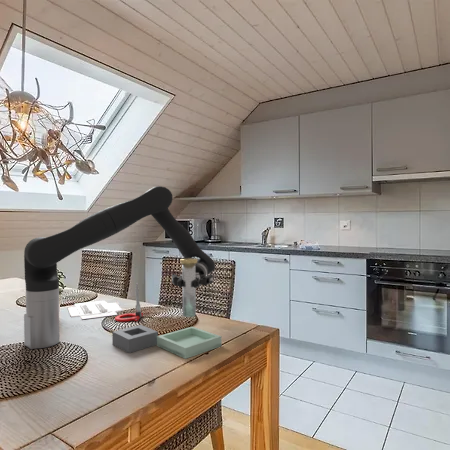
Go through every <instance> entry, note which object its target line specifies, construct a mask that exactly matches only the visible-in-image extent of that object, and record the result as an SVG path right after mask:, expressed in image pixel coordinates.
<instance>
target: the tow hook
mask: <svg viewBox="0 0 450 450" xmlns="http://www.w3.org/2000/svg"><path fill="white" fill-rule="evenodd" d="M135 300H136V301H135V312H134V313H133V312H132V313H131V312H129V313H123V314H118V315H115V317H114V320H115V322H120V323H122V322H132V321H135V322H138V321H139V320H141V318H142V317H143V316H144V313H143V312H142V310H141V303H140V289H139V283H138V282H136V283H135ZM125 317H126V318H125ZM127 317H128V318H127Z"/></svg>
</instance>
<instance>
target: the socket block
mask: <svg viewBox="0 0 450 450" xmlns="http://www.w3.org/2000/svg"><path fill="white" fill-rule="evenodd" d="M157 336H159V331H157V330H155V329H152V328H150V327H148V326H145V325H142V324H139V325H134V326H131V327H126V328H122V329H118V330H114V331H112V336H111V337H112V346H115V347H116V348H119V349H121V350H122V351H124V352H126V353H128V354H131V353H134V352H137V351H141V350H143V349H144V350H145V349H148V348H151V347H154V346H157Z"/></svg>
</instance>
